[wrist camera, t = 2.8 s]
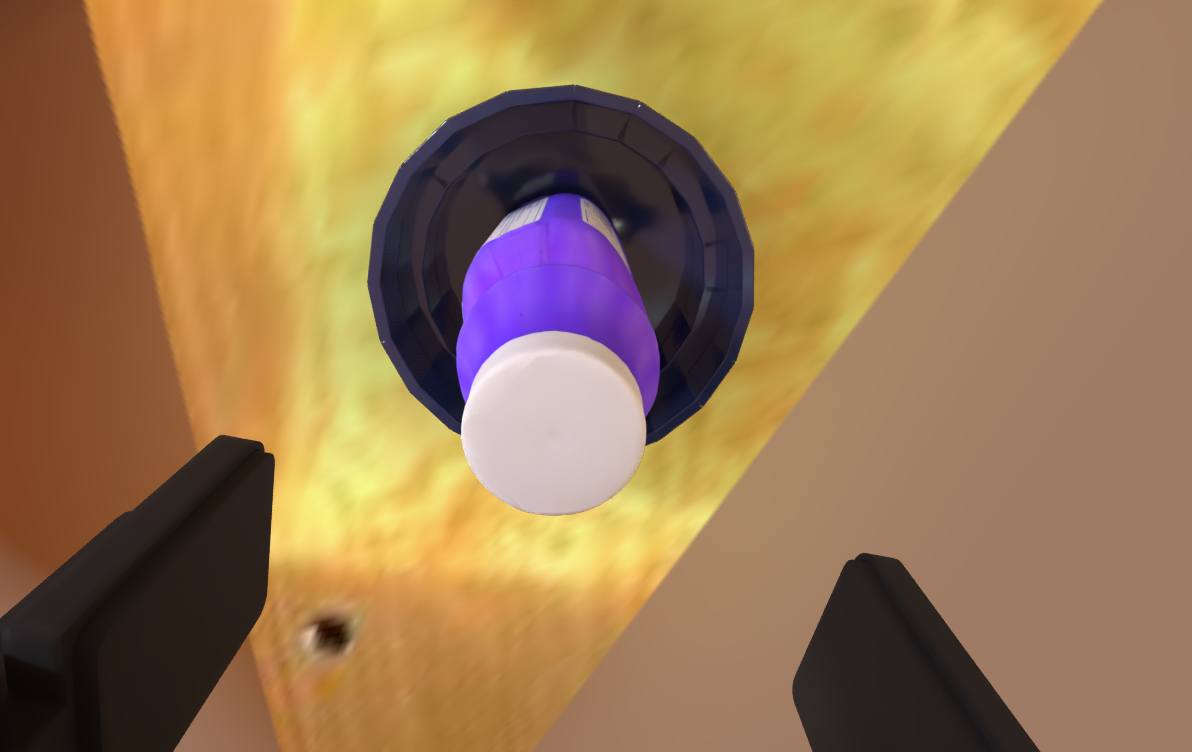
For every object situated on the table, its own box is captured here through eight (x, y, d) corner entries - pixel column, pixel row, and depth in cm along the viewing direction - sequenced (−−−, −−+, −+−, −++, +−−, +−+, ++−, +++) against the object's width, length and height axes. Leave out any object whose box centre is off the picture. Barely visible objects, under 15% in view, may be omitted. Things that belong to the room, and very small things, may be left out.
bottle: (475, 216, 29) (352, 345, 13) (593, 167, 28) (617, 238, 12) (540, 357, 32) (505, 609, 16) (649, 315, 31) (729, 532, 15)
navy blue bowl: (386, 378, 32) (351, 427, 27) (426, 52, 27) (392, 37, 22) (675, 435, 34) (692, 491, 29) (767, 138, 29) (809, 143, 24)
